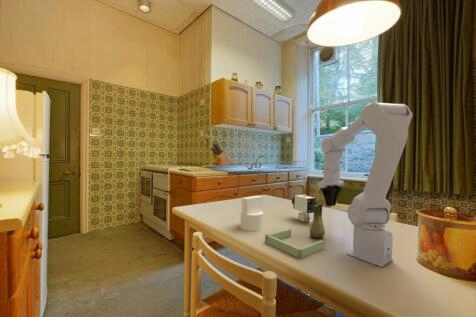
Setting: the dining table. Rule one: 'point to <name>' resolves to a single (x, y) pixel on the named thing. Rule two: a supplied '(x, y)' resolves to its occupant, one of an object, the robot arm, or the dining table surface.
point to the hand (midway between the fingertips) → (330, 205)
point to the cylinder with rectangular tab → (252, 213)
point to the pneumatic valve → (304, 206)
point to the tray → (293, 250)
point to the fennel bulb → (317, 223)
